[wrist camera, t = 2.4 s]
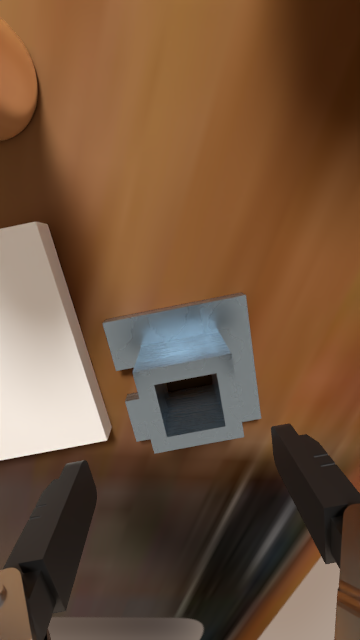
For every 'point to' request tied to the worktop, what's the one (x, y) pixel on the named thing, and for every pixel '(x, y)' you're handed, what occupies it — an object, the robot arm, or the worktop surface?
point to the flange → (188, 371)
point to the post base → (42, 353)
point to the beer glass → (15, 84)
